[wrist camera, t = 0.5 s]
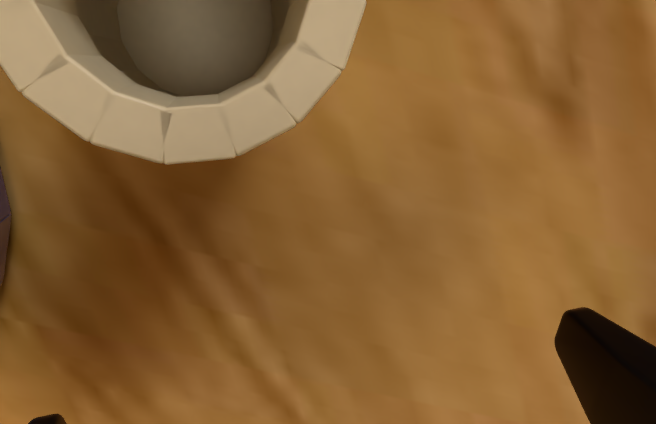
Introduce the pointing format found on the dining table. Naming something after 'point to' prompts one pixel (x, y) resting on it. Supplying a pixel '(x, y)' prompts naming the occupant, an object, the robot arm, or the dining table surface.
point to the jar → (177, 69)
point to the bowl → (3, 226)
